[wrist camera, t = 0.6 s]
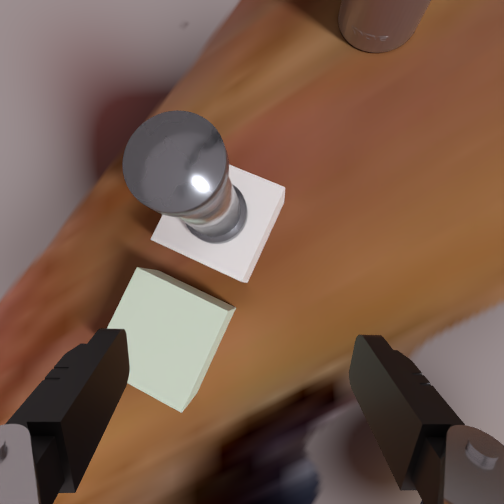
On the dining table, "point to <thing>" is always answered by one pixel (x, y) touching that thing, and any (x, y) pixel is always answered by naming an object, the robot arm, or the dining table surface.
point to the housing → (185, 175)
